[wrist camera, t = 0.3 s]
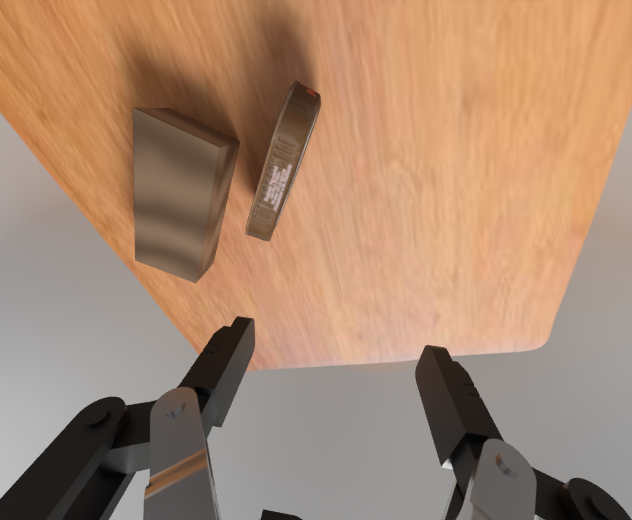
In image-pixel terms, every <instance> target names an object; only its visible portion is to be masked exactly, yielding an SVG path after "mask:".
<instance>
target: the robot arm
mask: <svg viewBox="0 0 632 520" xmlns="http://www.w3.org/2000/svg"><path fill="white" fill-rule="evenodd" d="M254 347H255V325H254V319H253V318H246V317H239V316H238V317H236V319H235V320H234V322H233V324H232V325H231V327H228V326H223V327H222V328H221V329H219V330H218V331H217V332H215V333H214V334H213V336H212V337H211V339H210V340H209V342H208V344H207V345H206V346H205V348H204V349H203V352H202V353H201V354H200V355H199V357H198V358H197V360H196V361H195V363H194V364H193V366H192V367H191V369H190V370H189V372H188V373H187V374H186V376H185V377H184V379H183V380H182V382H181V383H180V385H179V386H178V387H177V388H176V389H172V390H170V391H168V392H167V393H165V394H164V395H162V396H161V397H160V398H159V399H158V400H155V401H151V402H145V403H139V404H133V405H125V403H124V401H123V400H122V399H121V398H119V397H107V398H103V399H100V400H97V401H95V402H93V403H92V404H90V405H88V406H87V407H85V408H84V409H83V410H82V411H80V412H79V413H78V414H77V415H76V416H75V417H74V419H73V420H72V421H71V422H70V423H69V424H68V425H67V426H66V427H65V429H64V430H63V431H62V432H61V433H60V434H59V435H58V436H57V437H56V438H55V439H54V441H53V442H52V443H51V444H50V445H49V446H48V447H47V448H46V449H45V451H44V452H43V453H42V454H41V455H40V456H39V457H38V458H37V459H36V460H35V461H34V463H33V464H32V465H31V466H30V467H29V468H28V469H27V470H26V471H25V472H24V474H23V475H22V476H21V477H20V478H19V479H18V480H17V481H16V483H14V485H13V486H12V487H11V488H10V489H9V490H8V491H7V492H6V493H5V494H4V496H3V497H2V498H1V499H0V520H109V518H110V517H111V515H112V513H113V511H114V509H115V508H116V506H117V504H118V503H119V501H120V499H121V497H122V496H123V494H124V492H125V491H126V488H127V487H128V485H129V483H130V482H131V480H132V478H133V476H134V475H135V473H136V471H141V470H145V469H150V481H149V485H148V486H147V487H146V489H145V495H144V517H143V518H144V519H143V520H221V515H220V510H219V505H218V500H217V494H216V489H215V483H214V477H213V471H212V465H211V460H210V454H209V449H208V443H207V437H208V435H209V433H210V431H211V428H212V426H216V427H222V424H223V422H224V420H225V417H226V415H227V413H228V410H229V408H230V406H231V403H232V401H233V399H234V396H235V394H236V392H237V390H238V387H239V384H240V383H241V380H242V378H243V376H244V373H245V371H246V369H247V366H248V364H249V362H250V359H251V357H252V355H253V351H254ZM415 373H416V374H415V375H416V376H415V377H416V382H417V386H418V389H419V393H420V396H421V399H422V403H423V406H424V410H425V413H426V417H427V420H428V423H429V426H430V430H431V433H432V437H433V440H434V444H435V447H436V451H437V454H438V457H439V460H440V464H441V467H442V468H448V469H453V471H454V473H455V477H456V479H455V481H454V483H453V485H452V489H451V492H450V495H449V498H448V501H447V504H446V507H445V510H444V513H443V516H442V520H632V519H631V518H630V517H629V515H628V514H627V513H626V511H625V510H624V509H623V508H622V507H621V506H620V505H619V504H618V503H617V502H616V501H615V500H614V499H613V498H612V497H611V496H610V495H609V494H608V493H607V492H605V491H604V490H603V489H601V488H600V487H598V486H597V485H595V484H593V483H592V482H589V481H587V480H585V479H581V478H573V479H571V480H570V481H568V482H567V483H566V484H565V483H563V482H561V481H559V480H557V479H555V478H552V477H551V476H549V475H546V474H545V473H542V472H540V471H538V470H536V469H534V468H533V467H531V466H530V464H529V463H528V461H527V460H526V459H525V458H524V457H523V455H521V453H520V452H518V451H517V450H516V449H515V448H514V447H512V446H511V445H509V444H508V443H506V442H504V440H503V438H502V436H501V435H500V433H499V431H498V429H497V427H496V425H495V423H494V421H493V419H492V418H491V416H490V414H489V412H488V410H487V408H486V406H485V405H484V402H483V400H482V399H481V398H480V395H479V393H478V391H477V389H476V387H474V383H473V382H472V380H471V378H470V376H469V374H468V372H467V371H466V370H465V369H464V368H463V367H462V366H461V365H460V364H459V363H458V362H455V361H452V359H451V357H450V355H449V353H448V351H447V349H446V348H444V347H438V346H431V345H426V346H425V348H424V350H423V352H422V355H421V357H420V360H419V362H418V364H417V367H416V371H415ZM261 520H302V519H301V518H299V517H297V516H294V515H289V514H284V513H279V512H274V511H268V510H263V512H262V517H261Z"/></svg>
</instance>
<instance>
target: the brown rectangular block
mask: <svg viewBox="0 0 632 520" xmlns="http://www.w3.org/2000/svg"><path fill="white" fill-rule="evenodd" d="M239 143H240V142H239V141H237V140H235V139H233V138H231V137H228V136H226V135H224V134H222V133H220V132H218V131H216V130H214V129H211V128H209V127H207V126H205V125H203V124H201V123H199V122H196V121H194V120H192V119H190V118H188V117H186V116H184V115H182V114H179V113H177V112H175V111H173V110H171V109H169V108H133V155H134V215H135V260H136V261H139V262H141V263H144V264H146V265H149V266H152V267H154V268H157V269H159V270H162V271H165V272H167V273H170V274H173V275H175V276H178V277H180V278H183V279H186V280H188V281H191V282H194V283H197V281H198V280H199V279H200V278H201V277H202V276H203V275H204V273H205V272H206V271H207V270H208V269H209V268H210V267H211V265H212V264H213V263H214V259H215V254H216V250H217V245H218V240H219V236H220V231H221V226H222V222H223V217H224V213H225V208H226V203H227V199H228V194H229V190H230V185H231V180H232V176H233V171H234V167H235V162H236V157H237V153H238V148H239Z"/></svg>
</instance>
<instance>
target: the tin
mask: <svg viewBox="0 0 632 520" xmlns="http://www.w3.org/2000/svg"><path fill="white" fill-rule="evenodd" d="M320 98H321V97H320V95H319V94H318V93H317V92H315V91H313V90H311V89H309V88H307V87H305V86H303V85H302V84H300V82H299V81H297V80H296V81H295V82H294V83H293V85H292V86H291V88H290V90H289V92H288V94H287V96H286V99H285V101H284V104H283V106H282V109H281V111H280V114H279V117H278V120H277V123H276V126H275V129H274V132H273V135H272V139H271V142H270V146H269V149H268V152H267V156H266V159H265V163H264V166H263V170H262V173H261V177H260V180H259V183H258V187H257V190H256V194H255V197H254V200H253V204H252V207H251V210H250V214H249V217H248V221H247V226H246V235H251V236H253V237H256V238H259V239H261V240H264V241H270V239H271V236H272V233H273V231H274V228H275V227H276V225H277V223H278V221H279V218H280V216H281V213H282V210H283V208H284V205H285V203H286V200H287V197H288V195H289V192H290V190H291V187H292V185H293V182H294V179H295V177H296V174H297V172H298V169H299V166H300V164H301V161H302V158H303V156H304V153H305V150H306V147H307V144H308V142H309V139H310V136H311V133H312V130H313V128H314V125H315V122H316V119H317V116H318V113H319V110H320V106H321V99H320Z"/></svg>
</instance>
